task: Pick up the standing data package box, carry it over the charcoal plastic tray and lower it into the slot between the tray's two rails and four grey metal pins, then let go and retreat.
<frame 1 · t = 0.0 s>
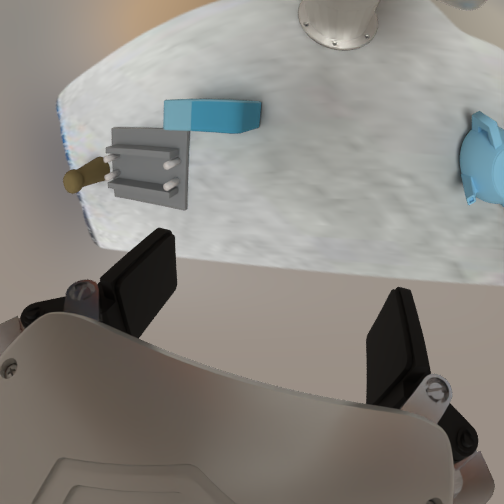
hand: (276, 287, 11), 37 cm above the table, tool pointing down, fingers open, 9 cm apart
tray: (148, 165, 51), on the table
teapot: (485, 161, 32), on the table
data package: (228, 111, 42), on the table
cork: (101, 168, 55), on the table
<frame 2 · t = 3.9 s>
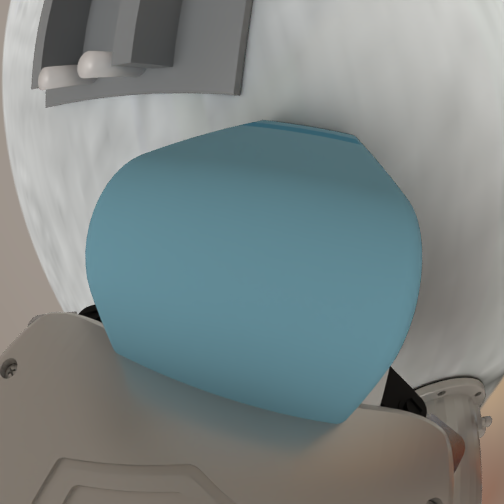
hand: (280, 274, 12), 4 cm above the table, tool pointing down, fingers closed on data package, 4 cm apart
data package: (295, 228, 16), on the table, touching gripper
when the fingers open (7 cm above the table, at t = 9.3 s): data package drops 2 cm, resting on tray.
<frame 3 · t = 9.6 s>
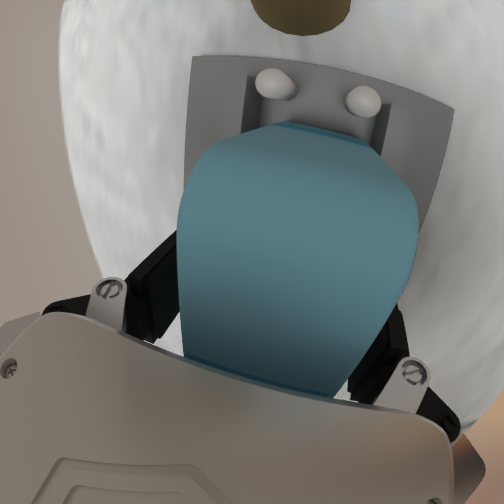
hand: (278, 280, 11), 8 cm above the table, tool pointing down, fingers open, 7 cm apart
tray: (300, 211, 18), on the table
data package: (304, 219, 17), point 1 cm above the table, touching tray
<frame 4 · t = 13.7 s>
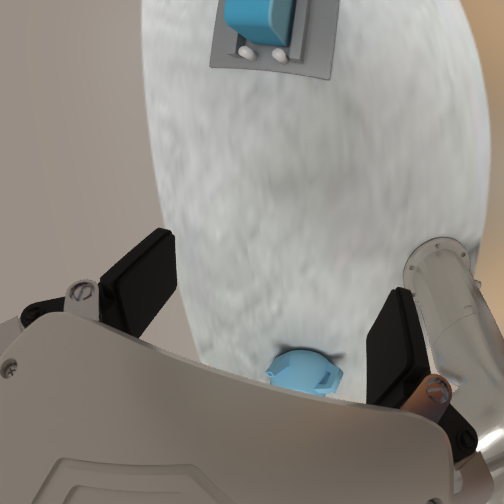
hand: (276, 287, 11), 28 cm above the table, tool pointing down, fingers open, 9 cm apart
tray: (276, 11, 25), on the table
teapot: (303, 365, 56), on the table
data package: (278, 10, 24), point 1 cm above the table, touching tray
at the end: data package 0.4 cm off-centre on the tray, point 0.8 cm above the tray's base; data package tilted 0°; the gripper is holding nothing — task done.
